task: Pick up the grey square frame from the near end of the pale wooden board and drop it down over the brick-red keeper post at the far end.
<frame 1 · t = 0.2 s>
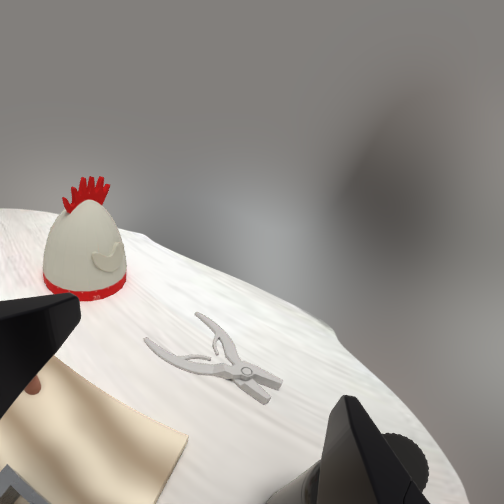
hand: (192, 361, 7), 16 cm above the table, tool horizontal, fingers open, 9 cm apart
pliers: (217, 363, 29), on the table
keeper board: (35, 454, 11), on the table
kitchen timer: (84, 276, 36), on the table
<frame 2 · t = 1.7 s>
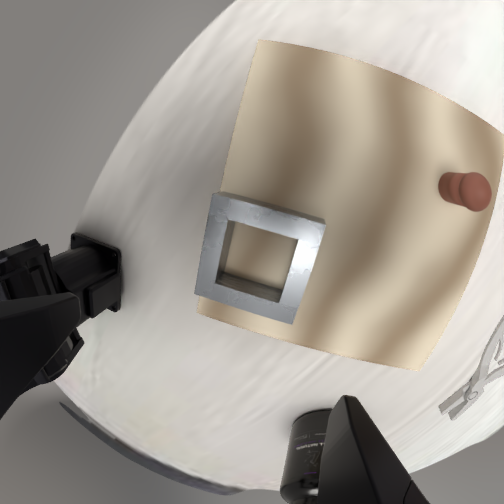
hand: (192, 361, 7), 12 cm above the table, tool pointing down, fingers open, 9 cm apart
grey square frame: (260, 252, 18), point 1 cm above the table, touching keeper board
pliers: (490, 361, 18), on the table
supplement bottle: (323, 425, 23), on the table
keeper board: (364, 216, 17), on the table
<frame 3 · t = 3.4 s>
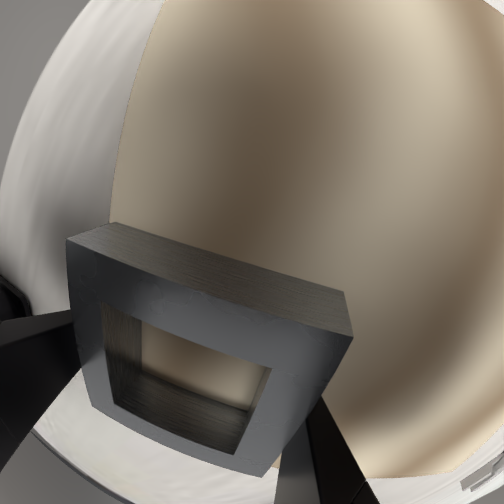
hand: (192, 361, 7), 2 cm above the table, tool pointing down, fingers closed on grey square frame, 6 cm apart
grey square frame: (198, 351, 8), point 2 cm above the table, touching gripper, keeper board
keeper board: (423, 272, 7), on the table
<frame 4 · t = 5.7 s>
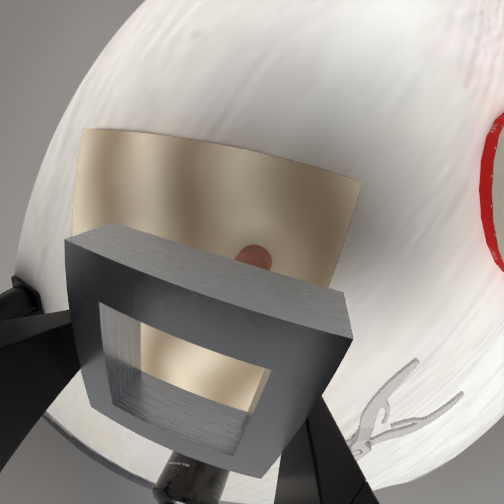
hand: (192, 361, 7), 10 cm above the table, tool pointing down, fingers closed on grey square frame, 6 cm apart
grey square frame: (198, 352, 8), point 10 cm above the table, touching gripper
pliers: (381, 422, 20), on the table
supplement bottle: (206, 448, 25), on the table
keeper board: (177, 286, 19), on the table
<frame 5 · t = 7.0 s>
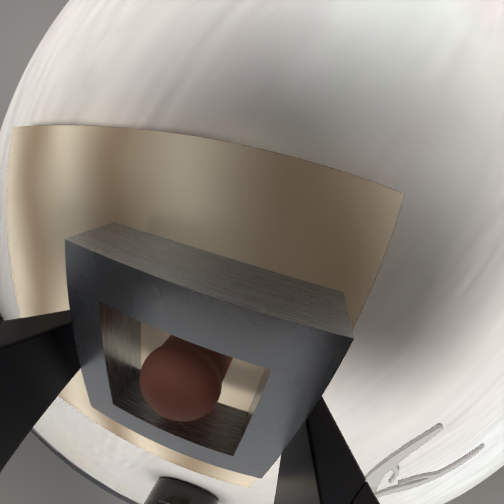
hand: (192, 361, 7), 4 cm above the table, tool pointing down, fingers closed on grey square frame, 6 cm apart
grey square frame: (198, 352, 8), point 3 cm above the table, touching gripper
pliers: (388, 478, 14), on the table
supplement bottle: (188, 489, 19), on the table
keeper board: (126, 334, 13), on the table
when the fingers open (4 cm above the table, at t = 8.0 s): grey square frame drops 2 cm, resting on keeper board.
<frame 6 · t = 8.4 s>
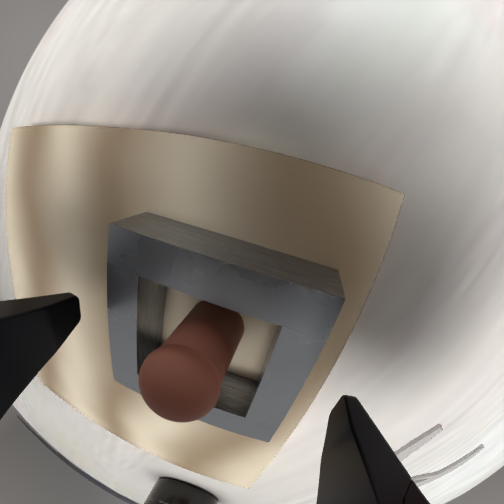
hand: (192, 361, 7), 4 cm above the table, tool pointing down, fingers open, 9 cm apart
grey square frame: (215, 324, 9), point 1 cm above the table, touching keeper board
pliers: (387, 478, 14), on the table
supplement bottle: (188, 489, 19), on the table
keeper board: (125, 335, 13), on the table
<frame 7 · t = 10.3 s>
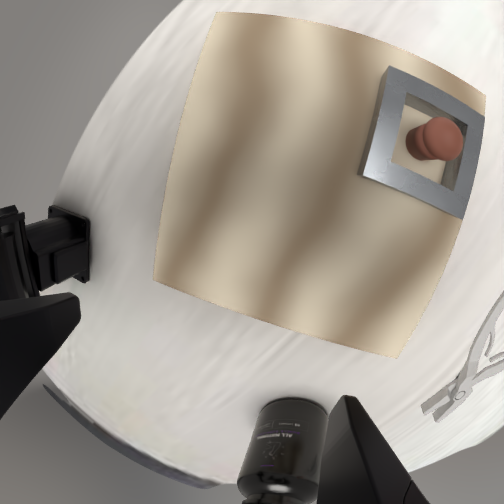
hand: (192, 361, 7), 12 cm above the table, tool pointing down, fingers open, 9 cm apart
grey square frame: (419, 144, 13), point 1 cm above the table, touching keeper board
pliers: (481, 358, 17), on the table
supplement bottle: (293, 417, 22), on the table
keeper board: (323, 177, 16), on the table
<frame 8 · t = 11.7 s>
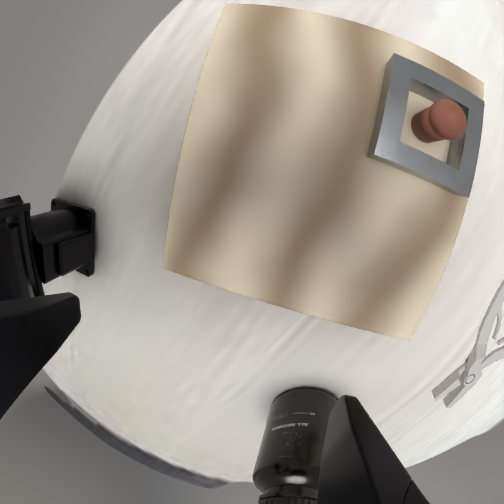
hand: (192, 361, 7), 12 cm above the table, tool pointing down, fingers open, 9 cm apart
grey square frame: (424, 127, 13), point 1 cm above the table, touching keeper board
pliers: (488, 341, 17), on the table
supplement bottle: (305, 407, 22), on the table
keeper board: (333, 160, 16), on the table
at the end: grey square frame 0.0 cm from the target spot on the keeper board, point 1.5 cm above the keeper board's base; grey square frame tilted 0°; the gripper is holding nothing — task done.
